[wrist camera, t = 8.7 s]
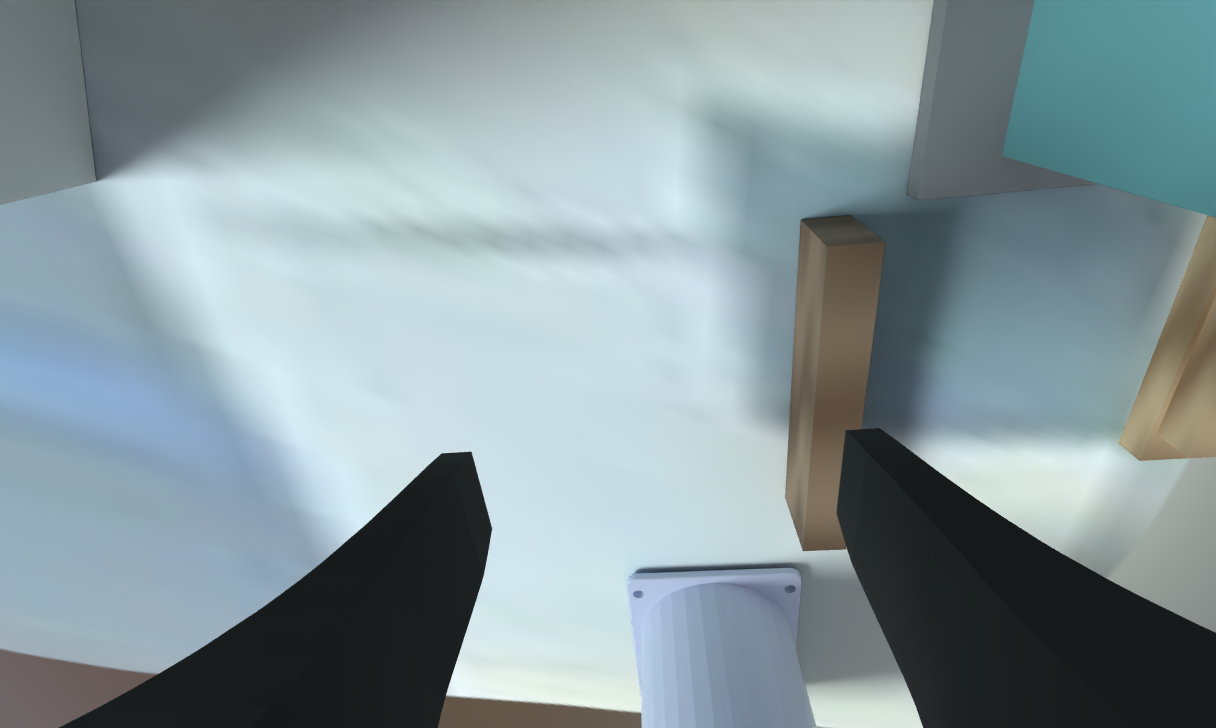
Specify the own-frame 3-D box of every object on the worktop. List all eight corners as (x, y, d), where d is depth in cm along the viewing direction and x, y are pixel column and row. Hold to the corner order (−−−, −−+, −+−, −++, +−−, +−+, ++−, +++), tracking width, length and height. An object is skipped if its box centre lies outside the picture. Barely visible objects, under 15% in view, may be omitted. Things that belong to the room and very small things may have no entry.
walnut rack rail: (823, 495, 24) (845, 549, 22) (785, 497, 25) (802, 551, 22) (850, 215, 19) (885, 241, 16) (800, 219, 19) (827, 247, 16)
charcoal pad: (1141, 173, 18) (1161, 178, 17) (906, 194, 18) (917, 200, 18) (1268, -220, 14) (1303, -235, 13) (958, -175, 14) (975, -187, 13)
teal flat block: (1092, 147, 17) (1418, 216, 10) (1001, 155, 17) (1258, 229, 10) (1179, -167, 13) (1767, -403, 6) (1066, -151, 14) (1516, -364, 7)
